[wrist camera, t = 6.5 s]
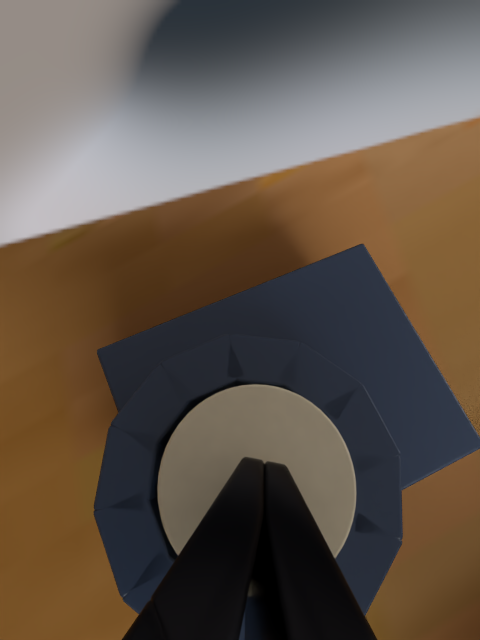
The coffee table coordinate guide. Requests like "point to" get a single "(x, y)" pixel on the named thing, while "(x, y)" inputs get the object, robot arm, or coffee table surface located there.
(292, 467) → the disc
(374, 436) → the button base
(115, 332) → the coffee table surface
